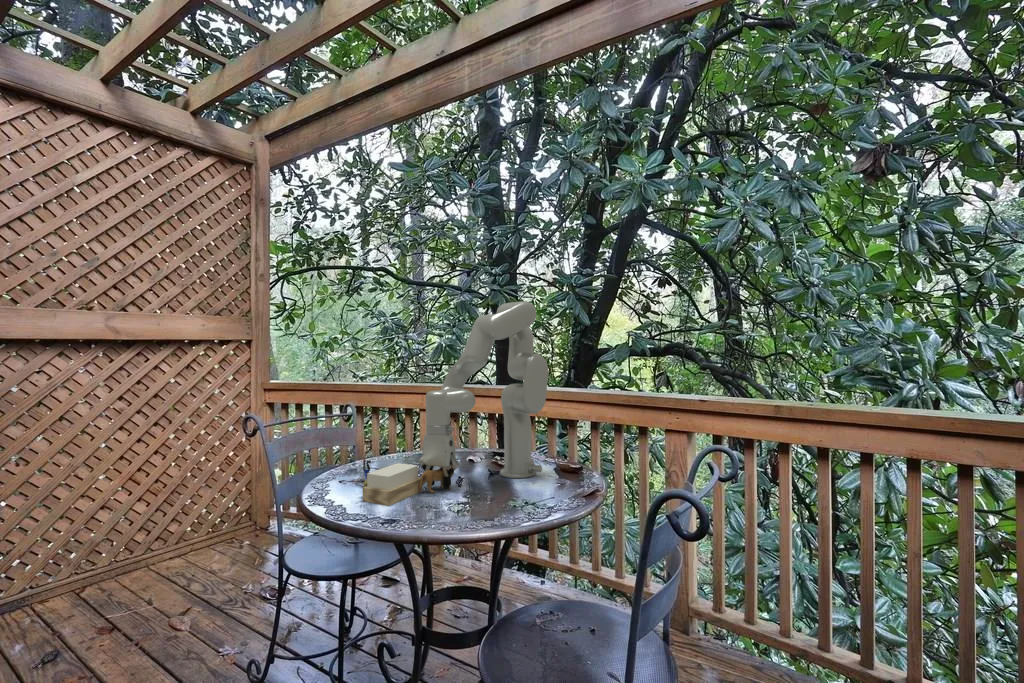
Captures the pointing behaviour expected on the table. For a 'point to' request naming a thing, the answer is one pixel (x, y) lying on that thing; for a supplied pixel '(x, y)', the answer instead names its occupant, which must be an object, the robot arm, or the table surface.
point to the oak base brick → (391, 493)
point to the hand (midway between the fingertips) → (438, 486)
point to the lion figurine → (432, 478)
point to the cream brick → (392, 476)
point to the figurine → (365, 472)
